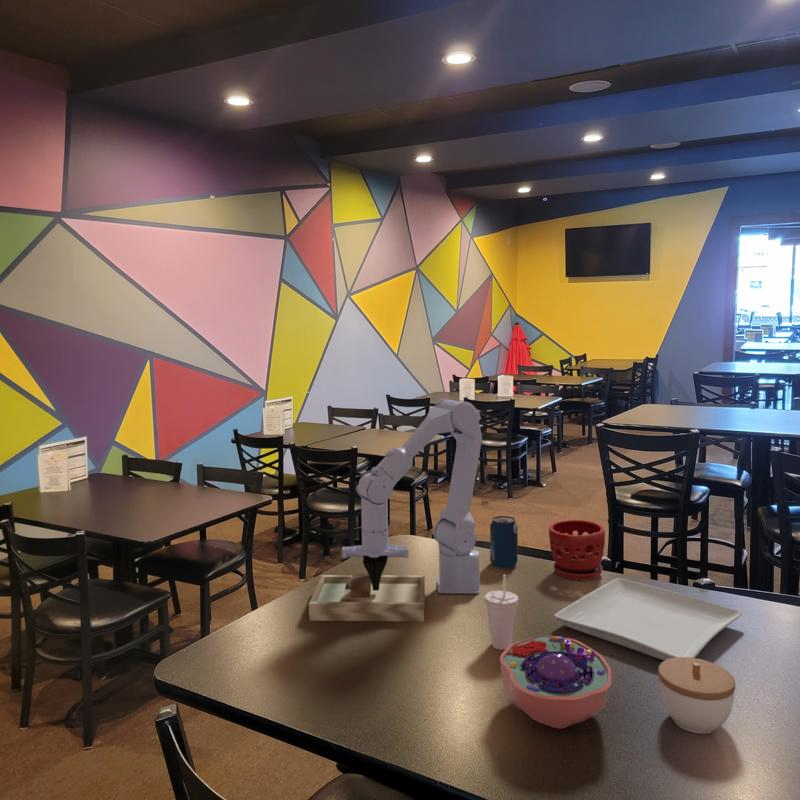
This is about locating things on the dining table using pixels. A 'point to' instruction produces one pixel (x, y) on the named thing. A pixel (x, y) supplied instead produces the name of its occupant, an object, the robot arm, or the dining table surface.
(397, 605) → the box
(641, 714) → the dining table surface
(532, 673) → the cell model
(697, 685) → the lidded jar
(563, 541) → the plant pot
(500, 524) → the soda can
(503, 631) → the smoothie
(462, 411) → the robot arm
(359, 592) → the walnut block
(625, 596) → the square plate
